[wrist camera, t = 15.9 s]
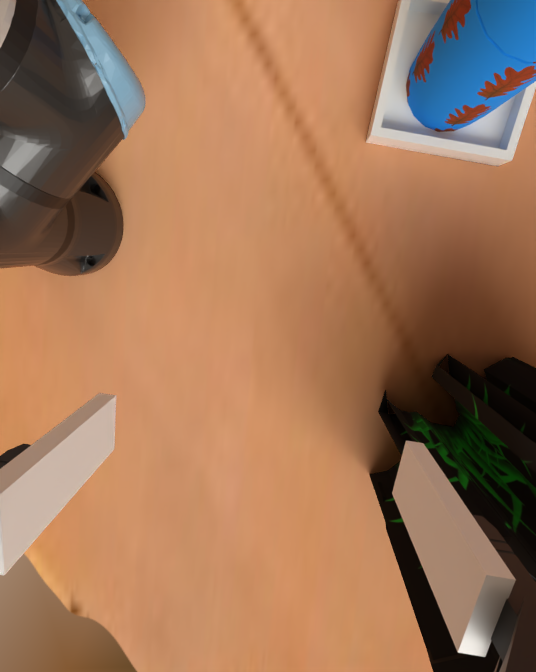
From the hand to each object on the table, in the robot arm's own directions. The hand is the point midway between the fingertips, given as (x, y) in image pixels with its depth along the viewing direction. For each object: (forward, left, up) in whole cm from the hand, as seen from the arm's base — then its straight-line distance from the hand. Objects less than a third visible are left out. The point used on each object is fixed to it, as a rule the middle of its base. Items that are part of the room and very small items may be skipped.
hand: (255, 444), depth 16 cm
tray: (+15, +31, -36) cm, 50 cm away
